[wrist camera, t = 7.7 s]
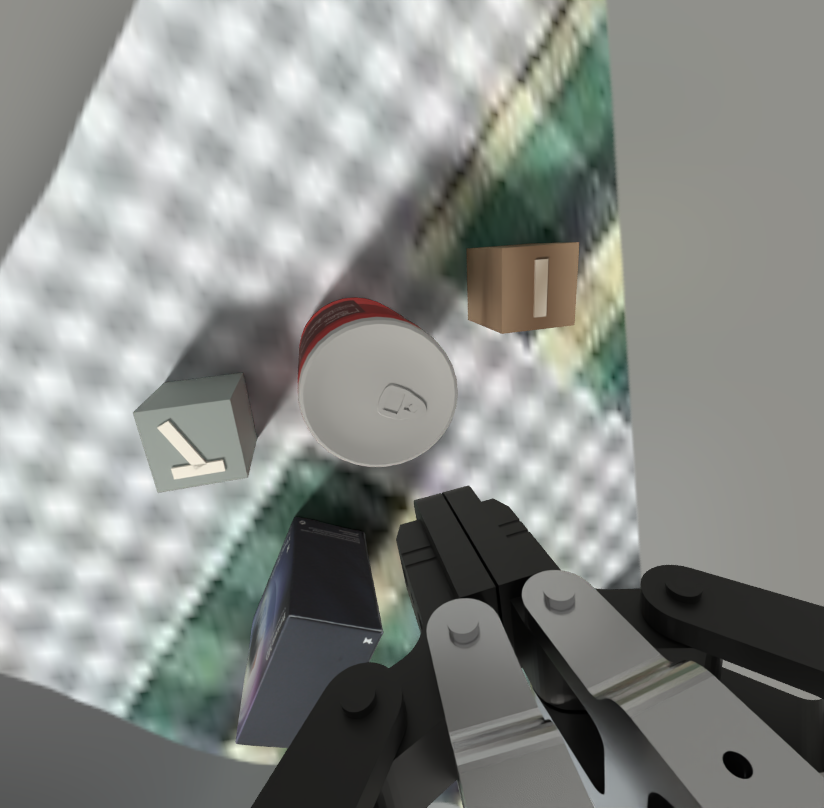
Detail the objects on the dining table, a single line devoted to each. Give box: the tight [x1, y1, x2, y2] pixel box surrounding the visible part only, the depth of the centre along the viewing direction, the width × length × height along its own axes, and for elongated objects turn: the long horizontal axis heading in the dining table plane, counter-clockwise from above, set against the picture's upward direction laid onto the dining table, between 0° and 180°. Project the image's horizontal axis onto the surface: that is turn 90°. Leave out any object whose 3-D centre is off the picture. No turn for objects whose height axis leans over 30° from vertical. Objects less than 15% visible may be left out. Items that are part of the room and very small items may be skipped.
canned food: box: [298, 298, 458, 467], centre depth 26 cm, size 8×8×11 cm
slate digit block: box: [133, 373, 257, 493], centre depth 28 cm, size 5×5×6 cm
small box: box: [236, 517, 383, 748], centre depth 32 cm, size 11×6×10 cm, turn 156°
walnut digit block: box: [467, 242, 579, 334], centre depth 30 cm, size 5×5×6 cm
